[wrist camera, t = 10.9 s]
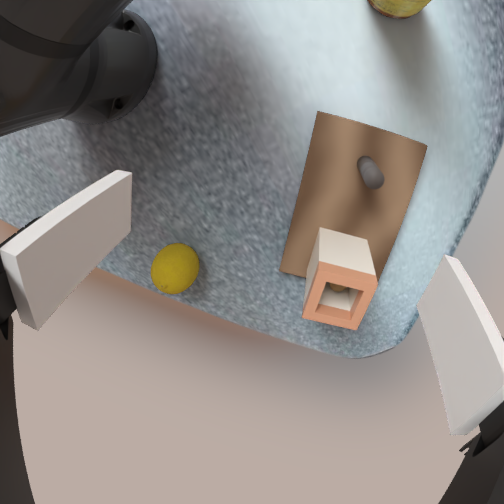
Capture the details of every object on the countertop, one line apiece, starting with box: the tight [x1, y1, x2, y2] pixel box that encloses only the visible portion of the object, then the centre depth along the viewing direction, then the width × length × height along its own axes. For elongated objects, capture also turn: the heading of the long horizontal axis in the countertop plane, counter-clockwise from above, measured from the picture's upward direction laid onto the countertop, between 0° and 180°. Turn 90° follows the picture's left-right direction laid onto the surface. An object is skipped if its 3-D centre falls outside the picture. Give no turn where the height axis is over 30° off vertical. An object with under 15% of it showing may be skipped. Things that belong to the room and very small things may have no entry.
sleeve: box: [302, 227, 378, 330], centre depth 32 cm, size 6×6×9 cm
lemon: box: [151, 243, 199, 294], centre depth 38 cm, size 6×6×8 cm
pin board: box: [279, 111, 427, 292], centre depth 31 cm, size 12×19×7 cm, turn 170°
